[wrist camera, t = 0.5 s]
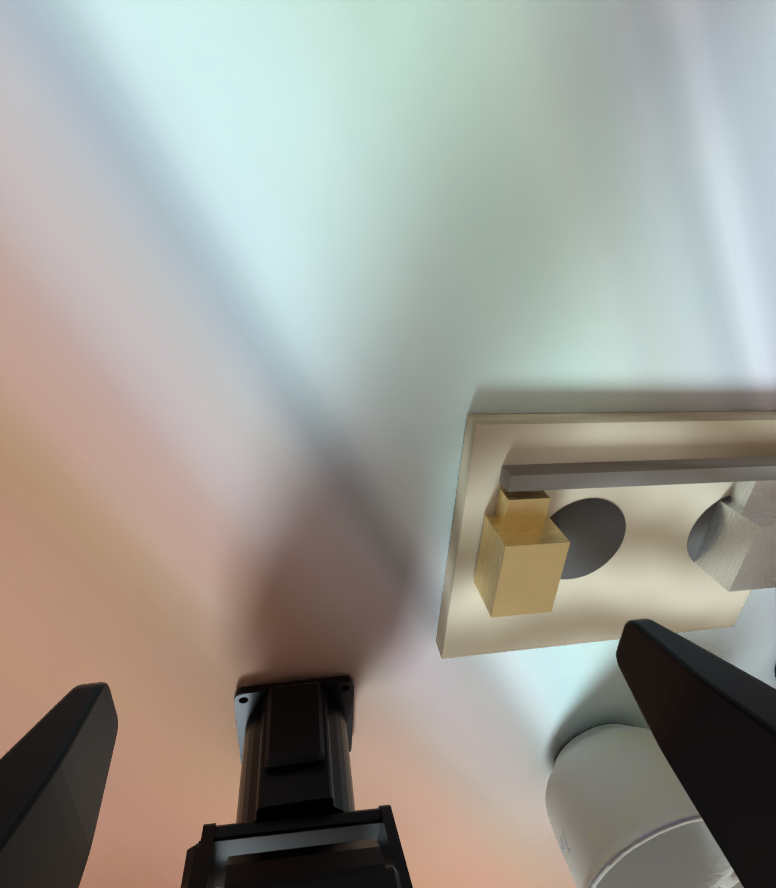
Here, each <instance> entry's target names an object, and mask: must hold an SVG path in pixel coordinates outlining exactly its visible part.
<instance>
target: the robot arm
mask: <svg viewBox="0 0 776 888" xmlns="http://www.w3.org/2000/svg"><path fill="white" fill-rule="evenodd" d="M616 658H617V662H618V665H619V668H620V670H621V672H622V674H623V676H624V678H625V680H626V682H627V684H628V686H629V688H630V690H631V692H632V694H633V696H634V698H635V700H636V702H637V704H638V706H639V708H640V710H641V712H642V714H643V716H644V718H645V720H646V722H647V724H648V726H649V728H650V730H651V732H652V734H653V736H654V738H655V740H656V742H657V744H658V746H659V748H660V749H661V751H662V753H663V755H664V756H665V758H666V760H667V762H668V763H669V765H670V767H671V768H672V770H673V772H674V773H675V775H676V776H677V778H678V780H679V781H680V783H681V785H682V786H683V788H684V790H685V791H686V793H687V795H688V796H689V798H690V800H691V801H692V803H693V805H694V806H695V808H696V810H697V811H698V813H699V814H700V816H701V818H702V819H703V821H704V823H705V824H706V826H707V828H708V829H709V831H710V833H711V834H712V836H713V838H714V839H715V841H716V843H717V844H718V846H719V848H720V849H721V851H722V853H723V854H724V856H725V857H726V859H727V861H728V862H729V864H730V866H731V867H732V869H733V871H734V872H735V874H736V876H737V877H738V879H739V881H740V882H741V884H742V886H743V887H744V888H776V689H775V688H773V687H771V686H769V685H767V684H766V683H764V682H762V681H760V680H758V679H757V678H755V677H753V676H751V675H750V674H748V673H746V672H744V671H742V670H741V669H739V668H737V667H735V666H733V665H732V664H730V663H728V662H726V661H725V660H723V659H721V658H719V657H717V656H716V655H714V654H712V653H710V652H708V651H707V650H705V649H703V648H701V647H700V646H698V645H696V644H694V643H692V642H691V641H689V640H687V639H685V638H683V637H682V636H680V635H678V634H676V633H674V632H673V631H671V630H669V629H667V628H666V627H664V626H662V625H660V624H658V623H657V622H655V621H653V620H651V619H646V618H644V619H635V620H629V621H627V622H626V623H625V625H624V628H623V631H622V634H621V638H620V641H619V644H618V647H617V651H616ZM353 696H354V684H353V679H352V678H351V677H349V676H340V677H331V678H322V679H314V680H305V681H296V682H287V683H278V684H269V685H261V686H252V687H243V688H240V689H238V690H237V691H236V692H235V697H234V706H235V715H236V723H237V732H238V740H239V749H240V757H241V765H242V768H241V778H240V788H239V799H238V809H237V819H236V824H226V825H217V826H216V823H213V824H204V826H203V831H202V837H201V841H199V843H198V844H196V845H195V846H193V847H191V848H190V849H188V850H187V855H186V861H185V866H184V872H183V878H182V884H181V888H413V887H412V883H411V879H410V876H409V872H408V868H407V865H406V861H405V857H404V854H403V850H402V846H401V843H400V839H399V835H398V832H397V828H396V824H395V821H394V817H393V813H392V809H391V806H390V805H383V806H379V808H376V809H367V810H357V811H355V805H354V795H353V786H352V776H351V766H350V756H349V752H350V751H351V746H352V721H353ZM117 729H118V718H117V713H116V710H115V706H114V702H113V699H112V695H111V691H110V688H109V686H108V685H107V683H105V682H98V683H90V684H82V685H78V686H76V687H75V688H73V689H72V690H71V691H70V692H69V693H68V694H67V695H66V696H65V697H64V698H63V699H62V700H61V701H60V702H58V703H57V704H56V705H55V706H54V707H53V708H52V709H51V710H50V711H49V712H48V713H47V714H46V715H45V716H44V717H43V718H42V719H41V720H40V721H39V722H38V723H37V724H36V725H35V726H34V727H33V728H32V729H31V730H30V731H29V732H28V733H27V734H26V735H25V736H24V737H23V738H22V739H20V740H19V741H18V742H17V743H16V744H15V745H14V746H13V747H12V748H11V749H10V750H9V751H8V752H7V753H6V754H5V755H4V756H3V757H2V758H1V759H0V888H78V887H79V884H80V881H81V878H82V875H83V872H84V869H85V865H86V862H87V859H88V856H89V852H90V849H91V845H92V841H93V837H94V833H95V829H96V824H97V820H98V815H99V811H100V807H101V802H102V798H103V793H104V789H105V784H106V780H107V776H108V771H109V767H110V762H111V758H112V753H113V749H114V745H115V740H116V736H117Z"/></svg>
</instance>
